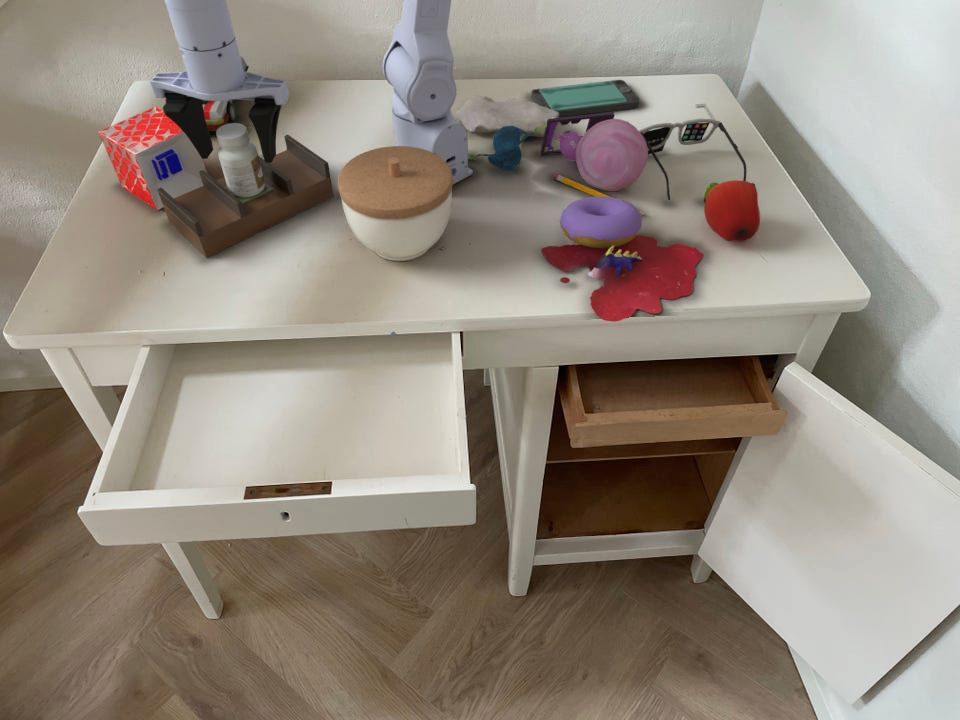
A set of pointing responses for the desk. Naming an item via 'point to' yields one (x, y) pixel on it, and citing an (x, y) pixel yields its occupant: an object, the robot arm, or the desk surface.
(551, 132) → the purple rectangular frame
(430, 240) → the lidded bowl
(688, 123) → the smart glasses
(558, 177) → the pencil
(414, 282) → the desk surface
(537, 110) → the stone
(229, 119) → the toy car
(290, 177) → the divided wooden tray
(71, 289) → the desk surface
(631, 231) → the donut
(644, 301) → the red splat with dinosaur
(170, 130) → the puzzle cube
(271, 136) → the robot arm
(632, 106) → the smartphone
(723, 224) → the apple
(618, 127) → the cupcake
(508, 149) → the blue flowers
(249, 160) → the pill bottle
